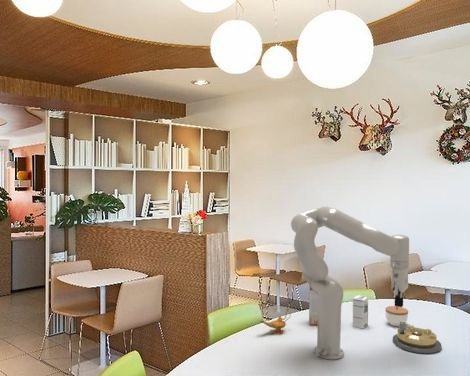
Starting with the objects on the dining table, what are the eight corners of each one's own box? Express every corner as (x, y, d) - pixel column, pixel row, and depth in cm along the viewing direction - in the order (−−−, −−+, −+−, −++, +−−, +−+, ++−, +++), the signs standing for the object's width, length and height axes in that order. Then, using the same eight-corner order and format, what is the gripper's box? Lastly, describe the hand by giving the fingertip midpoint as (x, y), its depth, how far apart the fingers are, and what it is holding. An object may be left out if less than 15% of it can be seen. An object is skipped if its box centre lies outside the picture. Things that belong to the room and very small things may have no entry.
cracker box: (336, 322, 222) (337, 281, 221) (338, 326, 216) (339, 284, 215) (308, 321, 224) (309, 280, 223) (309, 325, 218) (310, 283, 217)
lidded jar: (409, 329, 214) (410, 310, 213) (386, 327, 216) (387, 308, 215) (405, 321, 224) (406, 303, 224) (383, 320, 226) (384, 302, 226)
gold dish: (432, 351, 184) (432, 332, 184) (393, 342, 194) (393, 324, 193) (439, 339, 197) (440, 321, 197) (402, 331, 207) (403, 314, 206)
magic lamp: (255, 333, 206) (256, 310, 206) (285, 326, 216) (286, 304, 215) (264, 338, 201) (264, 314, 200) (294, 331, 210) (295, 308, 209)
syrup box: (363, 329, 213) (364, 299, 213) (352, 326, 217) (352, 297, 216) (367, 325, 218) (368, 297, 217) (356, 323, 221) (357, 294, 221)
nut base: (436, 358, 182) (436, 354, 182) (387, 346, 193) (387, 342, 193) (445, 342, 198) (445, 338, 198) (399, 332, 210) (399, 329, 209)
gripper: (404, 268, 181) (403, 312, 182) (412, 261, 193) (412, 303, 194) (385, 266, 185) (384, 309, 186) (395, 259, 197) (394, 300, 198)
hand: (398, 305), depth 190 cm, fingers closed
